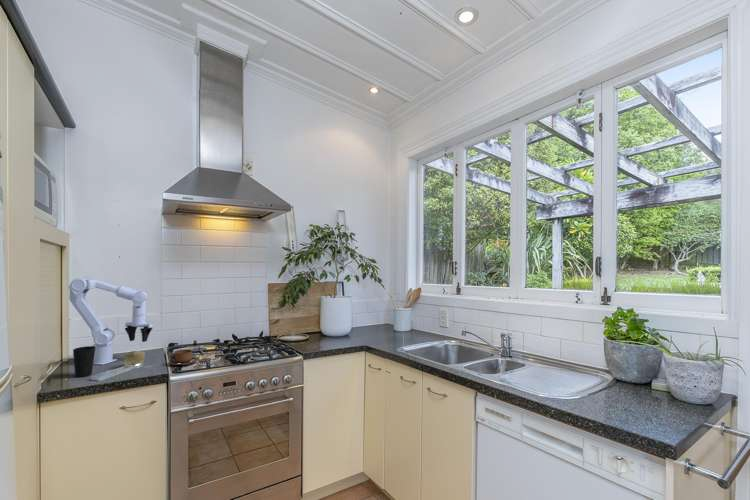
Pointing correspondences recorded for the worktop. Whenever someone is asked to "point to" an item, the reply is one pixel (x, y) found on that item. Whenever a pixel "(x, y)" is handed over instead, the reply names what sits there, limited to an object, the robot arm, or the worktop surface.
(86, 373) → the cup
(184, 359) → the cup and saucer
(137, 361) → the yellowish glass tumbler
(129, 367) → the ratchet
